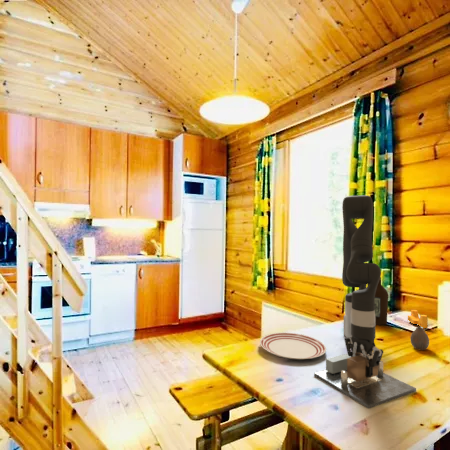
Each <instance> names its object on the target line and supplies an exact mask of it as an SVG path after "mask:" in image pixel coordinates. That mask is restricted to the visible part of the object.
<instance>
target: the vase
mask: <svg viewBox="0 0 450 450" xmlns="http://www.w3.org/2000/svg"><path fill="white" fill-rule="evenodd" d="M410 345H411V346H412V347H413V348H415V350H419V351H425V350H427V349H428V348H429V345H430V338H429V336H428V334H427V333H426V331H425V330H424V328H421V327H419V326H417V327H416V328H415V330H414V331H412V333H411V334H410Z"/></svg>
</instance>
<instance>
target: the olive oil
mask: <svg viewBox="0 0 450 450" xmlns="http://www.w3.org/2000/svg"><path fill="white" fill-rule="evenodd" d="M388 304H389V293H388V290H387V289H386V288H385V287H384V286H383V285H382V278H381V276H380V280H379V283H378V286H377V289H376V293H375V325H378V326H379V325H381V326H382V325H387V324H388V308H389V305H388Z"/></svg>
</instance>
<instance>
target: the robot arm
mask: <svg viewBox="0 0 450 450" xmlns="http://www.w3.org/2000/svg"><path fill="white" fill-rule="evenodd" d="M341 207H342V209H341V210H342V219H343V220H342V222H343V223H342V224H343V234H342V235H343V237H342V239H343V240H342V257H343V259H342V260H343V261H342V262H343V264H342V274H341V277H342V278H341V279H342V284H343V286H345V287H347V288H348V287H349V288H358V289H356V290H353V291H352V292H350V293H346V294H345V298H344V299H345V300H344V302H345V305H344V306H345V311H344V313H345V314H344V315H343V336H345V337H344V344H345V348H346V352H347V353H346V354H348V356H351V357H354V356H358V355H361V354H363V358H364V359H365V363H366V377H367V378H369V377H371V376H372V375H373V367H375V366H378V365H379V363H380V361H382V357H383V355H384V350H383V349H379V348H378V347H377V346H376V343H375V339H376V324H375V293H376V289H377V286H378V283H379V280H380V277H381V275H382V271H381V268H380V266H379V264H377V263H373V262H370V261H371V260H372V259H373V257H374V253H373V252H374V251H373V241H372V239H373V237H372V235H373V220H374V204H373V199H372V197H371V196H370V195H365V194H364V195H347V196H345V197H343V200H342V206H341ZM354 219H355V220H356V219H358V220H362V219H363V220H362V223H360V225H359V226H358V227H357V226H356V225H355V223H354V222H353V220H354ZM367 354H369V355H367ZM369 361H370V362H369Z"/></svg>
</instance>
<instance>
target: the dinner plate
mask: <svg viewBox="0 0 450 450" xmlns="http://www.w3.org/2000/svg"><path fill="white" fill-rule="evenodd" d="M259 344H260V346H261V348H263V350H265V351H266V352H267V353H269V354H271V355H274V356H277V357H280V358H282V359H283V358H284V359H287V360H288V359H289V360H310V359H317V358H319V357H321V356H323V355H325V353H326V352H327V346H326V345H325V344H324V343H323V342H322V341H321V340H319V339H317V338H314V337H312V336H309V335H305V334H300V333H295V332H274V333H269V334H267V335H265V336H262V337H261V338H260V339H259Z"/></svg>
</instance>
